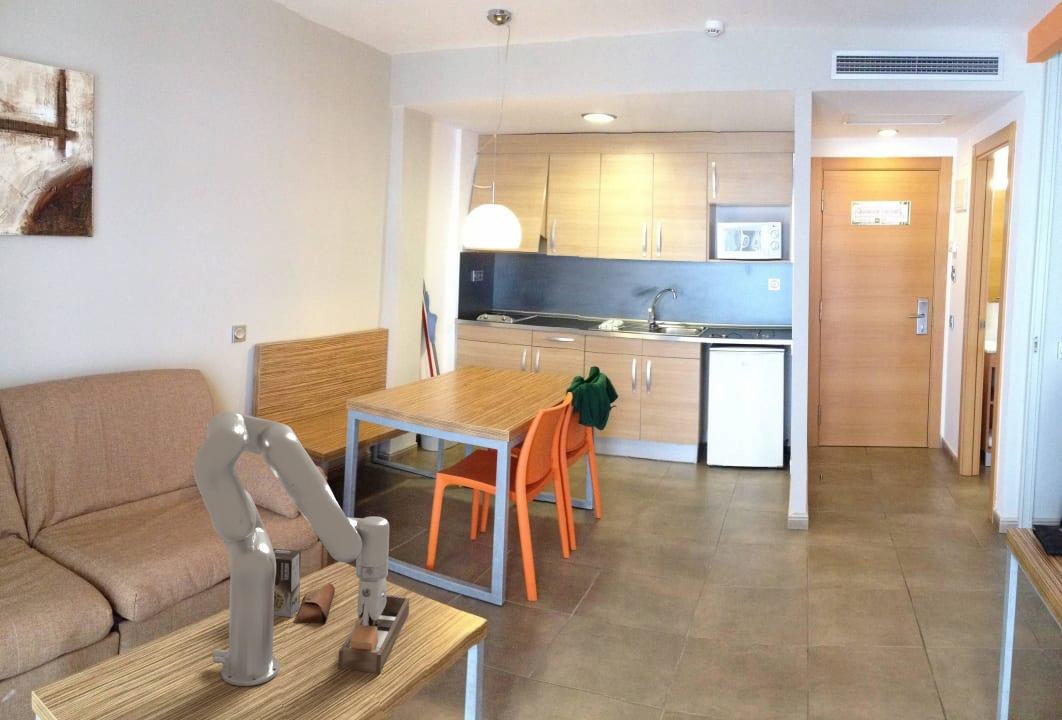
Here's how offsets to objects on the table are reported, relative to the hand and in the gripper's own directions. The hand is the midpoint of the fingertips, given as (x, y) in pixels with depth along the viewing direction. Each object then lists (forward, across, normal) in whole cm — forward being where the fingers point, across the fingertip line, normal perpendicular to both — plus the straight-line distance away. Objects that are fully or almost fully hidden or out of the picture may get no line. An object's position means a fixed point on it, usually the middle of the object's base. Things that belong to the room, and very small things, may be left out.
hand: (369, 639), depth 194 cm
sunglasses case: (+4, +21, +20) cm, 29 cm away
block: (0, -4, 0) cm, 4 cm away
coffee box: (+4, +17, +29) cm, 34 cm away
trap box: (+4, +7, 0) cm, 8 cm away
